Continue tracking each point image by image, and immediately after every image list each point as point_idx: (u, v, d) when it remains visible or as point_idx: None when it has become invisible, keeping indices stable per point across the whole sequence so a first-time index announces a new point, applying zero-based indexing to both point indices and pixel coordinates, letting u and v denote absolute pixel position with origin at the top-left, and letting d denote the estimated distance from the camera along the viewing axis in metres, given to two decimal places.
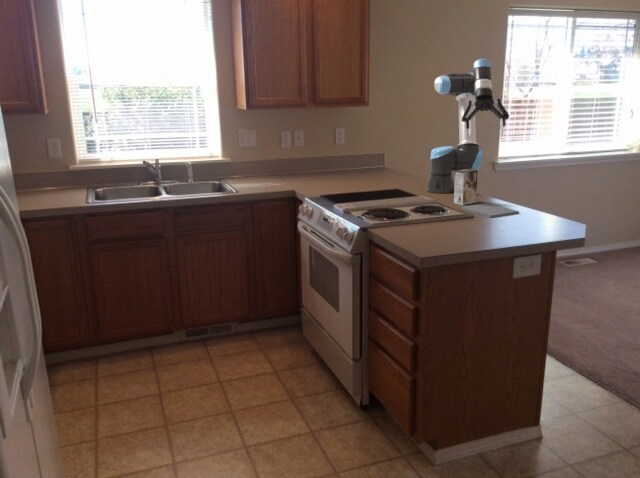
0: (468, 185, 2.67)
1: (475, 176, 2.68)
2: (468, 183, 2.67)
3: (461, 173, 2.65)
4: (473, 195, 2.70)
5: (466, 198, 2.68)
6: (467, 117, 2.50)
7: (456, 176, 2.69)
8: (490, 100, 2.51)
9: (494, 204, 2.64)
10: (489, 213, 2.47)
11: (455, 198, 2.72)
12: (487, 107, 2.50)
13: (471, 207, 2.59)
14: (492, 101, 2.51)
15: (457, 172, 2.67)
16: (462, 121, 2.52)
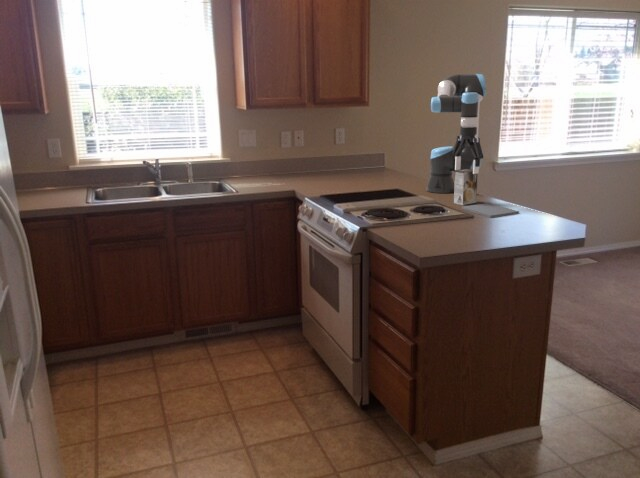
0: (468, 185, 2.67)
1: (475, 176, 2.68)
2: (468, 183, 2.67)
3: (461, 173, 2.65)
4: (473, 195, 2.70)
5: (466, 198, 2.68)
6: (455, 153, 2.73)
7: (456, 176, 2.68)
8: (469, 138, 2.61)
9: (494, 204, 2.64)
10: (489, 213, 2.47)
11: (455, 198, 2.72)
12: (467, 145, 2.64)
13: (471, 207, 2.59)
14: (470, 140, 2.61)
15: (457, 172, 2.67)
16: None
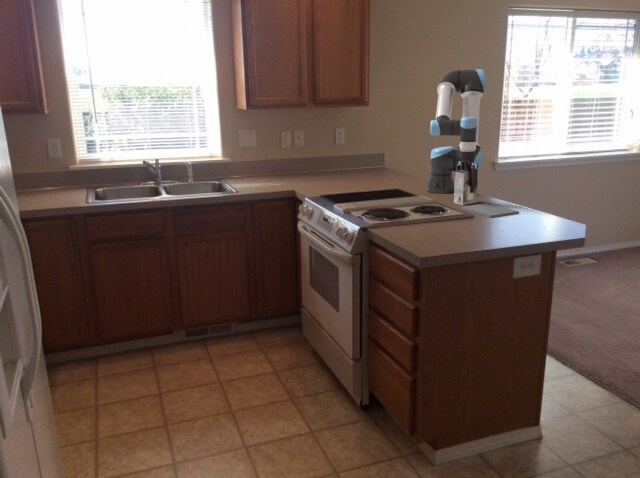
0: None
1: None
2: (468, 183, 2.67)
3: (461, 173, 2.65)
4: (473, 195, 2.70)
5: (466, 198, 2.68)
6: None
7: (456, 176, 2.68)
8: (468, 162, 2.64)
9: (494, 204, 2.64)
10: (489, 213, 2.47)
11: (455, 198, 2.72)
12: None
13: (471, 207, 2.59)
14: (469, 164, 2.64)
15: (457, 172, 2.67)
16: None
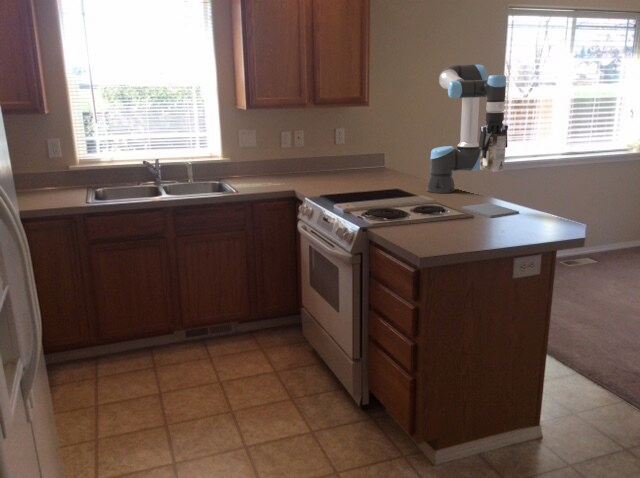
0: None
1: None
2: None
3: (503, 136, 2.43)
4: None
5: None
6: (485, 147, 2.45)
7: (498, 141, 2.42)
8: (501, 124, 2.45)
9: (494, 204, 2.64)
10: (489, 213, 2.47)
11: (496, 166, 2.45)
12: (497, 132, 2.46)
13: (471, 207, 2.59)
14: (502, 125, 2.46)
15: (499, 136, 2.42)
16: (479, 149, 2.46)
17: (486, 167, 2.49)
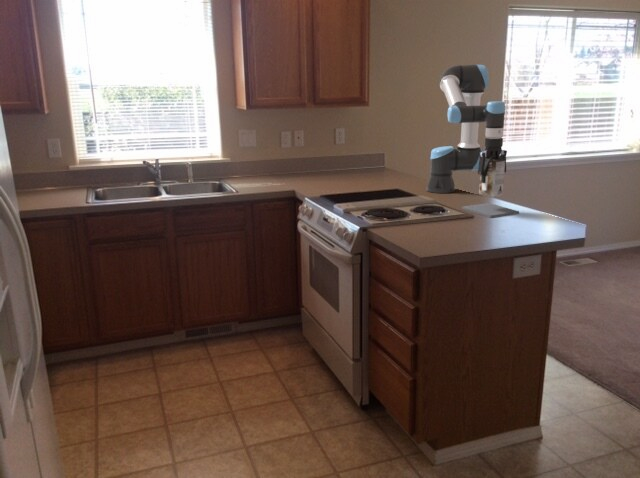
0: None
1: None
2: None
3: (502, 161, 2.46)
4: None
5: None
6: (484, 173, 2.48)
7: (497, 166, 2.45)
8: (500, 149, 2.48)
9: (494, 204, 2.64)
10: (489, 213, 2.47)
11: (495, 191, 2.48)
12: (496, 157, 2.48)
13: (471, 207, 2.59)
14: (500, 151, 2.49)
15: (498, 162, 2.45)
16: None
17: (485, 191, 2.52)
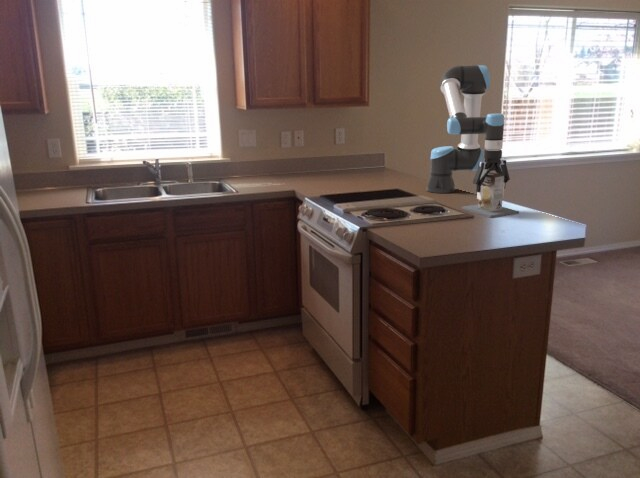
0: None
1: None
2: None
3: (501, 176, 2.48)
4: None
5: None
6: (480, 182, 2.48)
7: (496, 181, 2.47)
8: (499, 161, 2.50)
9: None
10: (489, 213, 2.47)
11: (494, 205, 2.50)
12: (495, 169, 2.50)
13: (471, 207, 2.59)
14: (500, 162, 2.50)
15: (497, 177, 2.47)
16: None
17: (484, 206, 2.54)
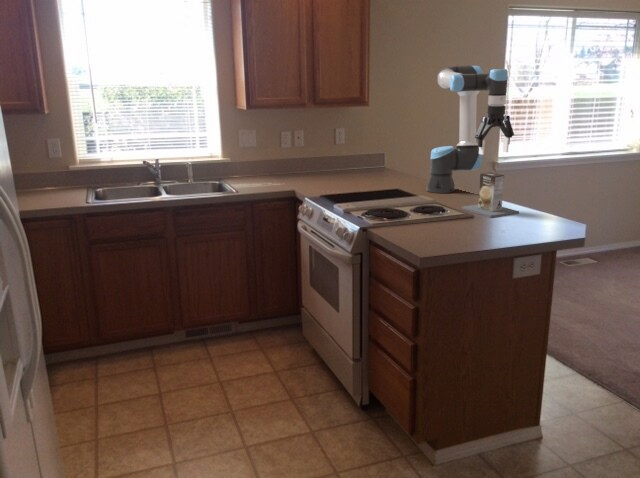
0: None
1: None
2: None
3: (501, 176, 2.48)
4: None
5: None
6: (482, 136, 2.49)
7: (496, 181, 2.47)
8: (502, 117, 2.51)
9: None
10: (489, 213, 2.47)
11: (494, 205, 2.50)
12: (498, 125, 2.51)
13: (471, 207, 2.59)
14: (503, 118, 2.51)
15: (497, 177, 2.47)
16: (475, 138, 2.50)
17: (484, 206, 2.54)
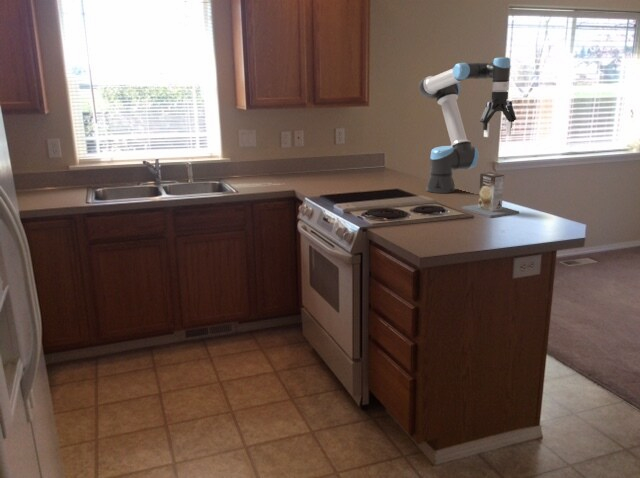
0: None
1: None
2: None
3: (501, 176, 2.48)
4: None
5: None
6: (487, 120, 2.68)
7: (496, 181, 2.47)
8: (505, 102, 2.70)
9: None
10: (489, 213, 2.47)
11: (494, 205, 2.50)
12: (502, 109, 2.71)
13: (471, 207, 2.59)
14: (506, 103, 2.71)
15: (497, 177, 2.47)
16: (480, 121, 2.70)
17: (484, 206, 2.54)
